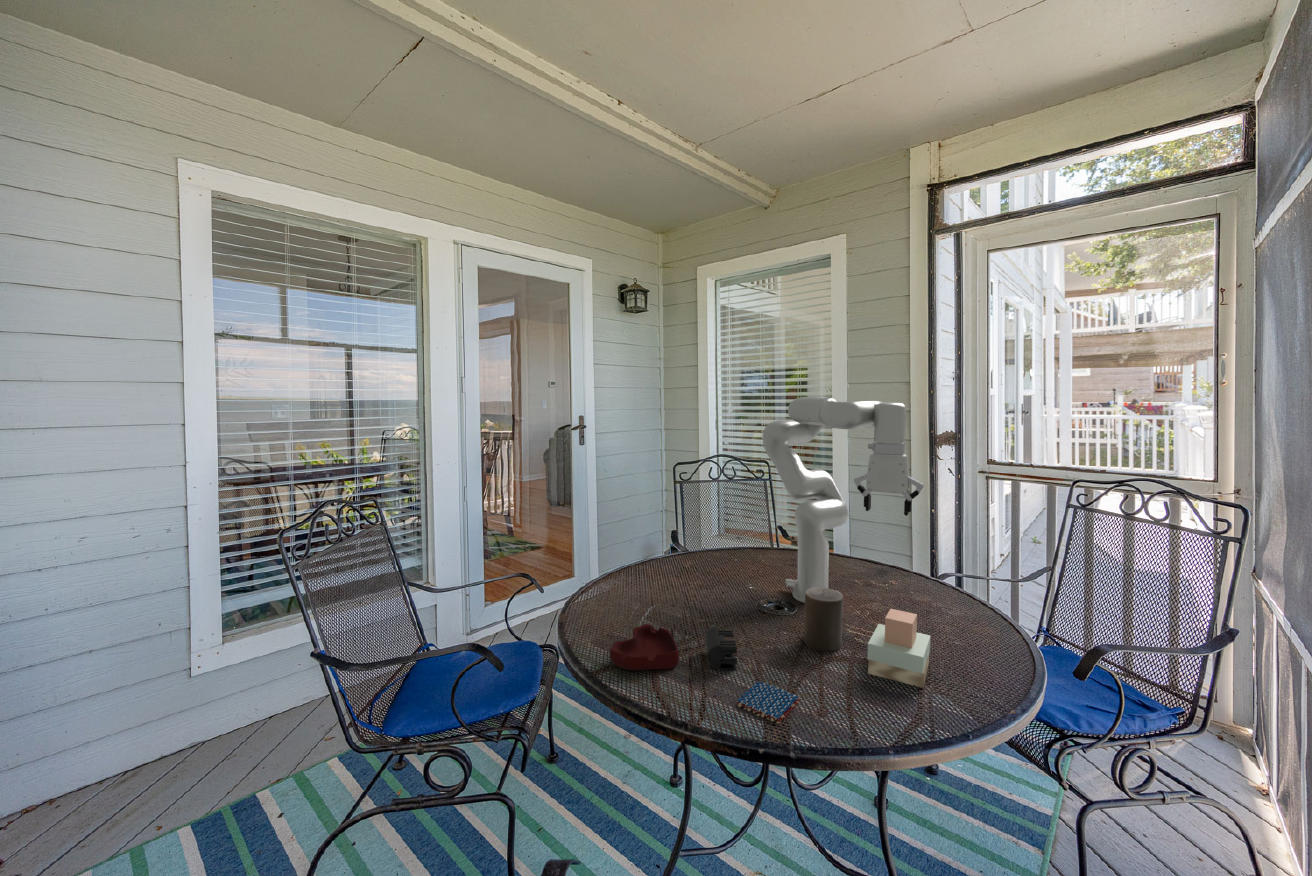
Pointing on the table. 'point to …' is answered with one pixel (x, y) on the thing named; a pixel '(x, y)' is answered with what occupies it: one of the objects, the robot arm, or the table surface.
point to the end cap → (721, 649)
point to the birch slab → (898, 673)
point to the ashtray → (646, 650)
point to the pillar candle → (823, 619)
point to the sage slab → (899, 651)
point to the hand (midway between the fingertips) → (886, 512)
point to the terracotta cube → (900, 628)
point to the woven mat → (768, 701)
